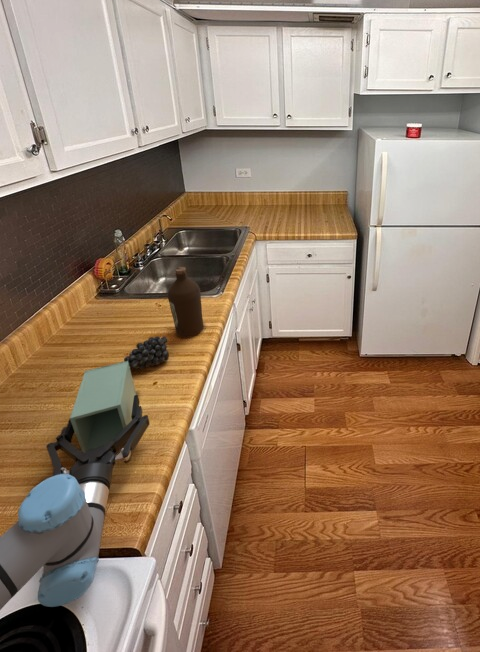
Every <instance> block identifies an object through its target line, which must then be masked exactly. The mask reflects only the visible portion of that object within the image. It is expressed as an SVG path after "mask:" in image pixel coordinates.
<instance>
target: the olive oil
mask: <svg viewBox="0 0 480 652" xmlns="http://www.w3.org/2000/svg"><path fill="white" fill-rule="evenodd" d="M175 277H176V279H175V280H174V282H172V284H171V285H170V286H169V288H168V291H167V299H168V300H167V301H168V304H169V309H170V311H171V315H172V320H173V324H174V329H175V333H176V335H177V336H178V337H180V338H191V337H195V336H197V335H199V334H200V333H202V331H203V329H204V320H203V307H202V296H201V294H202V293H201V288H200V286H199V285H198V284H199V283H197V282H196V281H195V280H193V279H191V278H189V277H188V273H187V271H186V267H185V266H179V267H176V268H175Z"/></svg>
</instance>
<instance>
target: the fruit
mask: <svg viewBox="0 0 480 652" xmlns="http://www.w3.org/2000/svg"><path fill="white" fill-rule="evenodd" d="M167 343H168V338H167V336H166V335H164V336H161V337H160V336H159V335H158V336H154V337H153V336H149V337H148V339H147V340H144V341H143V342H138V343H137V344H136V346H135V347H136V348H133V349H132V350H131V352H130V353H129V355H127V356H125V357H124V358H123V362H125V361H128V363H129V367H130V371H131V372H132V370H133V369H140V370H143V369H144V368H145V367H146V368H148V367H150V366H155V365H156V366H158V365H160V363H164V361H165V362H166V361H168V360H169V358H170V353H169V351H168V348H171V345H167Z"/></svg>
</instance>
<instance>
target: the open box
mask: <svg viewBox="0 0 480 652" xmlns="http://www.w3.org/2000/svg"><path fill="white" fill-rule="evenodd" d="M83 373H84V374H83V375H82V376H83V377H82V379H81V383H80V385H79V389H78V392H77V395H76V398H75V401H74V404H73V407H72V410H71V413H70V416H69V419H70V420H71V423H72V426H73V429H74V434H75V437H76V440H77V443H78V445H79V448H80V451H82V452H83V453H85V452H87V451H88V450H89V449H94V448H97V447H99V446H102V445H104V446H106V445H107V444H108V443H109V442H110V441H111V440H113V439H114V438H115V437H116V436H117V435H118V434H119V433H120V432H121V431H122V430H123V429H124V428H125V427H126V426H127V425H128V424H129V423H130V422H131V421H132V417H131V415H132V408H133V401H134V395H137V391H136V387H135V383H134V379H133V374H132V370H131V371H130V367H129V363H128V361H125V362H124V361H120V362H117V363H113V364H108V365H104V366H100V367H95V368H91V369H86V370H84V372H83ZM127 441H128V440H127ZM127 441H126V442H127Z"/></svg>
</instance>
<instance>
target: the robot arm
mask: <svg viewBox="0 0 480 652" xmlns="http://www.w3.org/2000/svg"><path fill="white" fill-rule="evenodd" d="M139 399H140V398H139V395H138V394H136V395H134V401H133V408H132V415H131V417H132V421H131V422H130V423H129V424H128V425H127V426H126V427H125V428H124V429H123V430H122V431H121V432H120V433H119V434H118V435H117V436H116V437H115V438H114V439H113V440H111V441H110V442H109V443H108V444H107V445H106V446H104V445H102V446H99V447H97V448H94V449H89V450H88V451H87V452H85V453H83V452H82V451H81V449H78V448H77V447H76V446H75V445H73V444H72V441H73V437H74V434H75V431H74V429H73V426H72V423H71V420H70V418H69V419H68V422H67V424H66V426H64V427H62V429H61V431H60V433H59V435H57V436H56V438H55V439H56V441H54V442H48V444H46V450H47V452H48V455H49V458H50V461H51V464H52V467H53V473H52V476H49V477H48V478H45V479H44V480H42V481H41V482H40V483H38V484H36V485H35V486H34V487H33V488H32V489H30V491H29V492H28V493H27V495H26V497H25V498H24V500H23V501H22V502H21V504H20V506H19V508H18V511H17V521H16V522H15V523H14V524H13V525H11V526H10V527H9V528H8V529H7V530H6V531H5V532H4V533H3V534H2V535H0V611H1V610H2V609H3V608H4V607H5V606H6V605H7V604H8V603H9V601H10V600H11V599H12V598H14V596H15V595H17V593H18V592H20V591H21V589H22V588H23V587H24V586H25V585H27V583H28V582H29V581H30V580H31V579H32V578H33V577H34V576H35V575H36V574H37V573H38V572H39V571H40V570H41V569H42V568H43V570H42V575H41V576H40V577H39V578H40V579H39V581H38V583H39V585H38V591H37V600H38V603H39V604H40V605H41V606H43V607H47V608H49V607H50V608H55V607H61V606H64V605H67V604H69V603H71V602H73V601H74V602H75V601H76V600H77V599H79V598H80V597H82V596H84V594H85V593H86V592H87V591H88V590H89V589H90V588H91V586H92V584H93V582H94V580H95V574H96V570H97V566H98V563H99V562H100V561H99V560H100V558H99V554H100V549H101V541H102V536H103V531H104V523H105V516H106V513H107V512H106V511H107V506H108V501H109V495H110V488H111V484H112V478H113V470H114V467H115V465H116V464H117V463H120V462H123V463H125V464H128V463H129V462H130V461H131V459H132V455H133V452H134V451H135V449H136V447H137V445H138V444H139V443H140V441H141V439H142V437H143V436H144V434H145V433H146V431H147V430H148V428H149V426H150V419H149V415H148V414H145V415H143V413H144V411H143V408H142V405H140V400H139ZM127 440H128V441H127ZM59 450H61V451H62V453H64V454H65V455H67V457H68V458H70V459H71V460H72V461H73V462H74V464H73V465H72V466H71V467H70V468H69V470H68V469H67V468H66V467H63V465H62V462H61V459H60V457H59V455H58V451H59Z"/></svg>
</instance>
